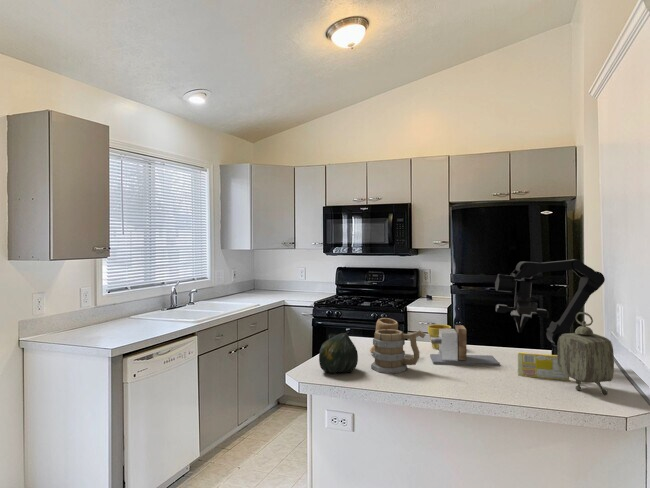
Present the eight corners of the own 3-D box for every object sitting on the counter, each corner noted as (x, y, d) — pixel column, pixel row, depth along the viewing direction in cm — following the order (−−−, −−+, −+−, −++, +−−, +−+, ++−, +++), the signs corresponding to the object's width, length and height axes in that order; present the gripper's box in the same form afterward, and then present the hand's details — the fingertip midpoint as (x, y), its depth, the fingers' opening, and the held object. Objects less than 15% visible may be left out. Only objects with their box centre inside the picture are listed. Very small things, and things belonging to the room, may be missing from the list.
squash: (305, 355, 169) (325, 329, 162) (332, 350, 179) (351, 325, 173) (325, 386, 161) (347, 360, 155) (352, 379, 172) (373, 354, 166)
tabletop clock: (614, 396, 137) (613, 315, 137) (589, 399, 135) (588, 316, 135) (578, 382, 151) (577, 308, 151) (555, 384, 150) (554, 309, 150)
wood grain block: (462, 355, 183) (462, 325, 183) (466, 360, 175) (466, 329, 175) (430, 354, 185) (430, 324, 185) (432, 359, 177) (432, 328, 177)
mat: (492, 357, 184) (492, 355, 184) (499, 365, 172) (499, 363, 172) (430, 356, 187) (430, 354, 187) (433, 364, 175) (433, 361, 175)
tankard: (368, 371, 166) (368, 331, 166) (376, 362, 178) (376, 325, 178) (423, 376, 159) (422, 334, 159) (427, 367, 171) (427, 328, 171)
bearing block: (454, 355, 184) (453, 328, 184) (457, 361, 175) (457, 333, 175) (439, 355, 185) (438, 328, 185) (441, 360, 176) (441, 333, 176)
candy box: (568, 379, 155) (568, 355, 155) (569, 381, 153) (569, 357, 153) (517, 374, 162) (517, 351, 162) (517, 375, 160) (517, 352, 160)
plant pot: (426, 349, 199) (425, 327, 199) (429, 344, 209) (429, 323, 209) (450, 351, 195) (449, 329, 195) (452, 346, 205) (452, 325, 205)
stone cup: (395, 358, 185) (395, 322, 185) (367, 356, 189) (367, 320, 189) (401, 350, 199) (401, 316, 199) (375, 348, 203) (375, 315, 203)
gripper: (500, 292, 171) (496, 333, 171) (553, 298, 166) (549, 339, 166) (497, 290, 182) (493, 328, 182) (547, 295, 177) (543, 334, 177)
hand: (519, 332), depth 177 cm, fingers closed
